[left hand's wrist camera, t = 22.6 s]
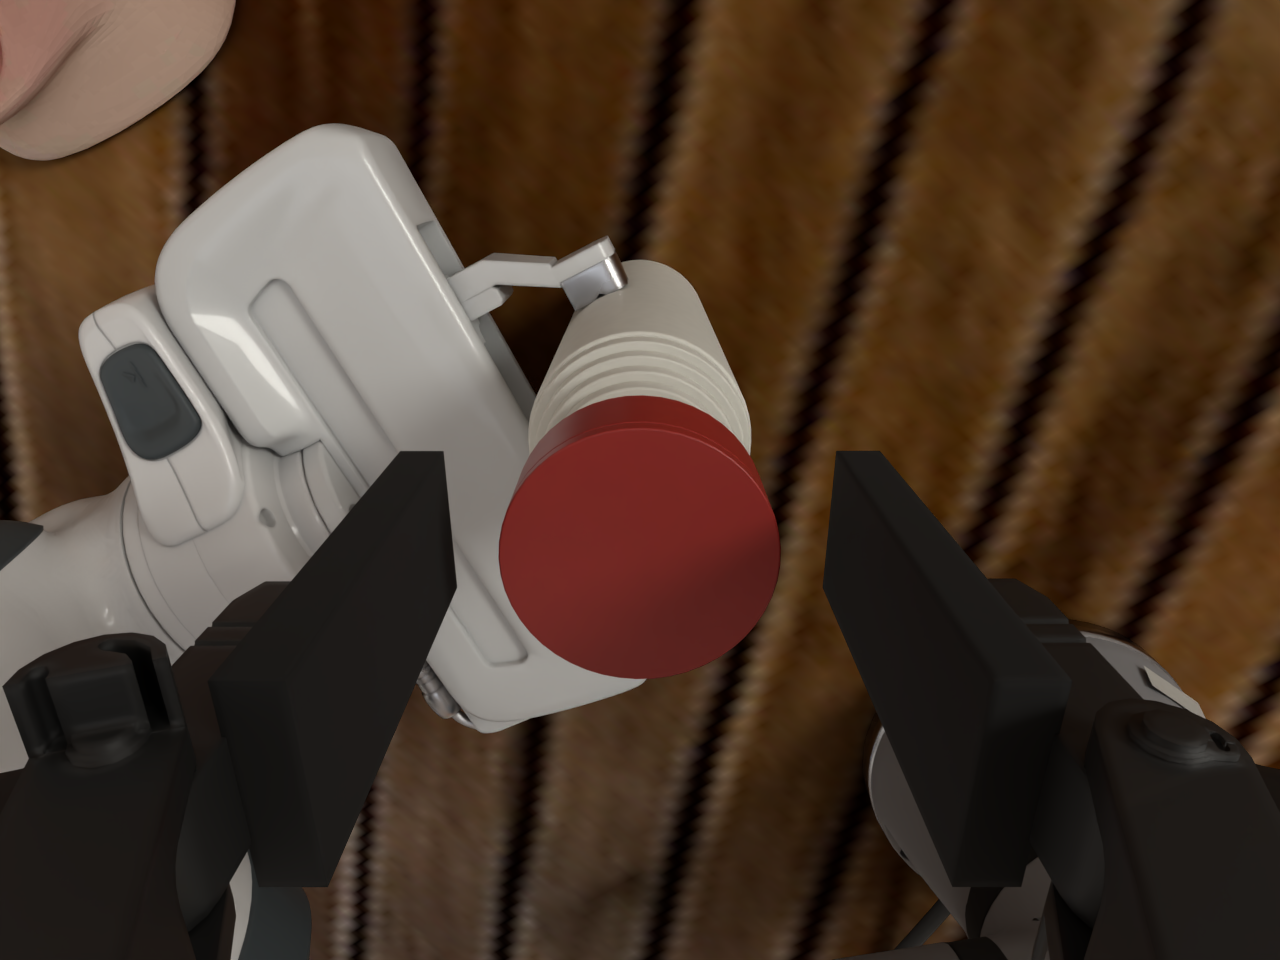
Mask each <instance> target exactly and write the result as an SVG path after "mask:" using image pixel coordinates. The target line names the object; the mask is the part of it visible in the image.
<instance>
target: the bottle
mask: <svg viewBox="0 0 1280 960" xmlns="http://www.w3.org/2000/svg"><path fill="white" fill-rule="evenodd" d="M621 264H622V266H623V268H624V270H625V272H626V274H627V276H628V279H629V280H628V284H627V285H625V286H624V287H623V288H621V289H619V290H617V291H615V292H613V293H610V294H607V295H605V294H599V295H598V297H597V299H596V300H595V301H594V302H592V303H591V304H590V305H588V306H586V307H584V308H582V309H580V310H578V311H574V314H573V316H572V318H571V320H570V323H569V325H568V327H567V329H566V332H565V334H564V336H563V338H562V341H561V343H560V345H559V347H558V349H557V352H556V354H555V356H554V358H553V361H552V363H551V365H550V367H549V370H548V372H547V374H546V376H545V378H544V381H543V383H542V385H541V387H540V390H539V392H538V394H537V396H536V399H535V401H534V404H533V408H532V411H531V415H530V421H529V427H528V444H529V455H530V454H531V452H532V451H533V449H534V448H535V447H536V445H537V444H538V442H539V441H540V440H541V439H542V438H543V437H544V436H545V435H546V433H547V432H548V431H549V430H550V429H552V428H553V427H554V426H555V425H556V424H558V423H559V422H560V421H561V420H563V419H564V418H566V417H567V416H569V415H571V414H572V413H574V412H575V411H577V410H579V409H582V408H584V407H586V406H588V405H591V404H593V403H596V402H600V401H603V400H606V399H611V398H617V397H622V396H638V395H645V396H657V397H663V398H668V399H672V400H677V401H680V402H683V403H685V404H688V405H691V406H694V407H696V408H698V409H700V410H701V411H703V412H705V413H707V414H709V415H710V416H712V417H713V418H715V419H716V420H718V421H719V422H721V423H722V424H723V425H724V426H725V427H726V428H727V429H729V430H730V431H731V432H732V433H733V434H734V435H735V436H736V437H737V439H738V440H739V441H740V442H741V444H742V445H743V446H744V447H745V449H746V450H747V452H748V454H749V455H750V447H751V425H750V418H749V413H748V410H747V406H746V403H745V400H744V398H743V396H742V393H741V391H740V389H739V387H738V384H737V382H736V380H735V378H734V375H733V373H732V371H731V369H730V366H729V364H728V362H727V360H726V358H725V355H724V353H723V351H722V349H721V346H720V344H719V342H718V340H717V337H716V335H715V333H714V331H713V328H712V326H711V324H710V322H709V319H708V317H707V315H706V313H705V310H704V308H703V306H702V304H701V301H700V299H699V297H698V295H697V293H696V291H695V290H694V288H693V287H692V285H691V284H690V283H689V282H688V281H687V280H686V279H685V278H684V277H683V276H682V275H681V274H680V273H678V272H677V271H675V270H674V269H672V268H670V267H668V266H666V265H664V264H661V263H658V262H654V261H649V260H631V261H625V262H621Z"/></svg>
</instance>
